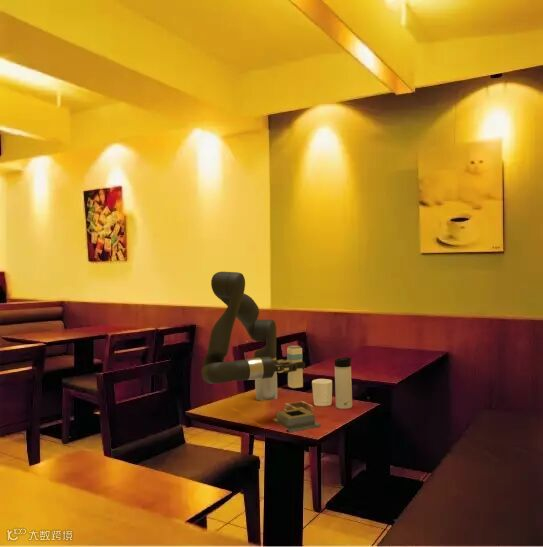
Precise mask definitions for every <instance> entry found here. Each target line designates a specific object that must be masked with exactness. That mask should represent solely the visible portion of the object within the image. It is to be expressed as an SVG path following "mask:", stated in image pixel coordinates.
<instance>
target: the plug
mask: <svg viewBox="0 0 543 547" xmlns="http://www.w3.org/2000/svg"><path fill="white" fill-rule="evenodd" d="M286 352H287V353H286V360H287V361H288V362H290V363H293V362H303V356H304V355H303V348H302V347H301V346H300V345H289V346H288V347H287V348H286ZM292 368H293V366H292ZM303 370H304V369H303V368H300V369H297V371H292V372H288V373H287V386H288V387H289V388H291V389H297V388H298V389H299V388H303V387H304V378H303V376H304V374H303V373H304V372H303Z"/></svg>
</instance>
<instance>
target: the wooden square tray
mask: <svg viewBox="0 0 543 547" xmlns="http://www.w3.org/2000/svg"><path fill="white" fill-rule="evenodd" d="M298 408H302V409H304V410H306V411H308V412H310V413H313V412H315V410H314V405H312V404H310V403H308V402H306V401H304V400H300V401H295V402H294V401H293V402H289V403H287V402H285V403H284V408H283V411H286V410H292V409H298Z"/></svg>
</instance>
